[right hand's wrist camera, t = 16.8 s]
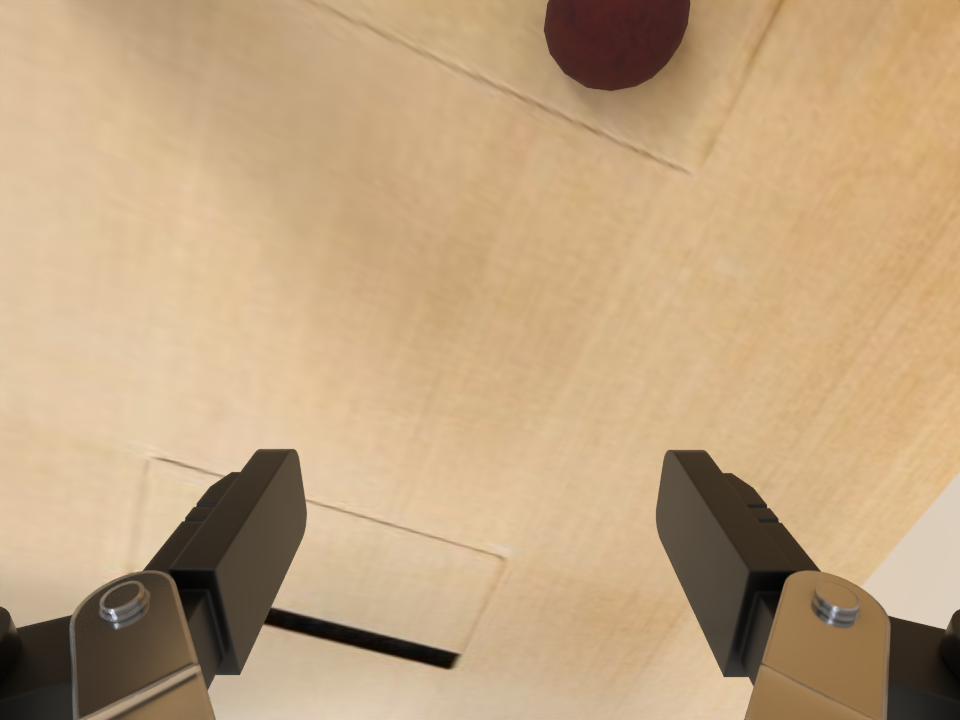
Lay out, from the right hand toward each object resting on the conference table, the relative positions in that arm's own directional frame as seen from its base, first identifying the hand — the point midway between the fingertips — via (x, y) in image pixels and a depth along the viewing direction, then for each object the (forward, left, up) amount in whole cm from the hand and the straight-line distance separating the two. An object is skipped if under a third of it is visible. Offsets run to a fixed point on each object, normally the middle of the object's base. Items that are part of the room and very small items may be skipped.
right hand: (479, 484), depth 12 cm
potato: (-14, +8, -28) cm, 32 cm away
